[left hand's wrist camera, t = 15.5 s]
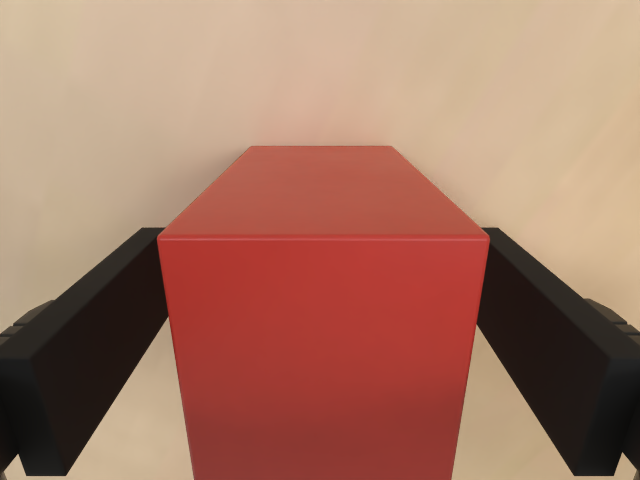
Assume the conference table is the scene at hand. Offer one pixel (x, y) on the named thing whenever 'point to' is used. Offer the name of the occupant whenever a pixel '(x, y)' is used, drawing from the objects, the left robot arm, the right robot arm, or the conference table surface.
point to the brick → (322, 317)
